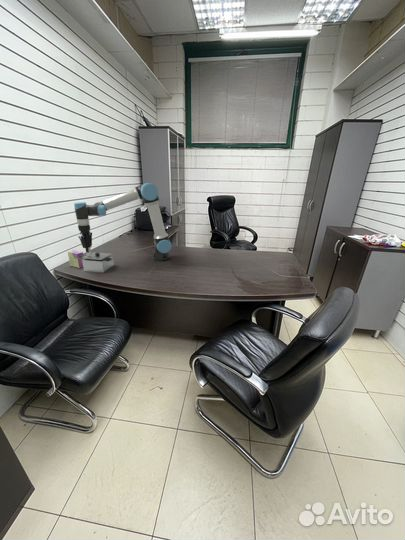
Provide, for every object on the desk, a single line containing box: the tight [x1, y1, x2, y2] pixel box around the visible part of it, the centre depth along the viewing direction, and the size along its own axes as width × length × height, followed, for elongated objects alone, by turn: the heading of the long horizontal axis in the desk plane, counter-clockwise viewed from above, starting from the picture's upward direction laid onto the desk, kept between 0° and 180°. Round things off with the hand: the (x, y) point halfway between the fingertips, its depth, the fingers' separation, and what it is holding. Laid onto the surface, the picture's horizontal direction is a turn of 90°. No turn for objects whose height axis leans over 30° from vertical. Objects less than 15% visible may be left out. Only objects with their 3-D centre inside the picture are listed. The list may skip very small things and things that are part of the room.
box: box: [67, 249, 85, 269], centre depth 173 cm, size 10×6×12 cm, turn 65°
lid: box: [82, 251, 113, 260], centre depth 168 cm, size 16×15×3 cm
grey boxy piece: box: [82, 254, 115, 274], centre depth 171 cm, size 20×15×9 cm
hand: (89, 255), depth 165 cm, fingers closed
